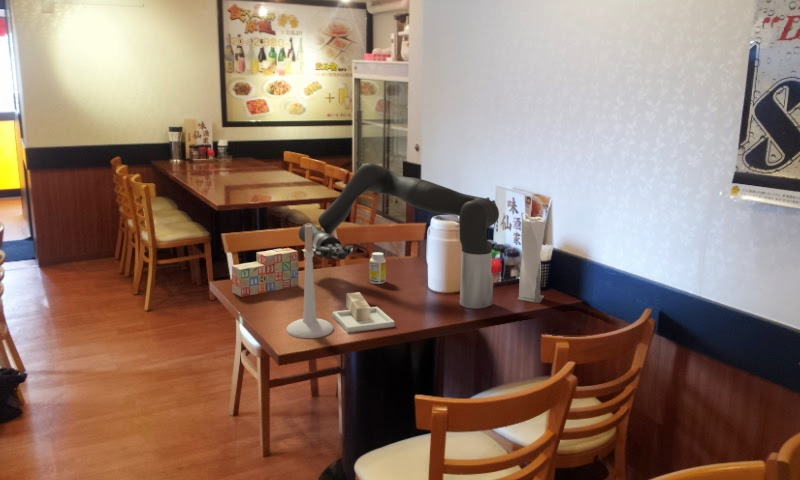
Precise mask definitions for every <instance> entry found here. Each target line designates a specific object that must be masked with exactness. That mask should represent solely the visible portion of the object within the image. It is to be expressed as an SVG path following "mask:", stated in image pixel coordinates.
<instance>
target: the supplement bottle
mask: <svg viewBox="0 0 800 480" xmlns="http://www.w3.org/2000/svg"><path fill="white" fill-rule="evenodd" d="M386 261H387V260H386V258H385V257H384V253H383V252H378V251H377V252H372V253H371V258H370V259H369V282H370V283H371V284H374V285H380V284H381V285H383V284H384V283H386V278H387V277H386V276H387V273H386V272H387V271H386V270H387V269H386V268H387V265H386V264H387V262H386Z"/></svg>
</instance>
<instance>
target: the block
mask: <svg viewBox="0 0 800 480" xmlns="http://www.w3.org/2000/svg"><path fill="white" fill-rule="evenodd" d="M345 299H346V300H345V307H346V308H347V310H349V311H350V312H351V314H352V315H353V317H354V318H355V320H356V321H364V320H370V307H371V306H370V305H369V303H368V302H367V301H366V299H365V297H364V296H363V294H361V292H360V291H357V292H347V293H346V298H345Z"/></svg>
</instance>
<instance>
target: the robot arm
mask: <svg viewBox="0 0 800 480" xmlns="http://www.w3.org/2000/svg"><path fill="white" fill-rule="evenodd" d="M366 191H367V192H372V193H375V194H376V193H377V194H383V195H388V196H392V197H396V198H398V199H400V201H401V200H402V201H403V202H404V203H406V204H408V205H409V206H411V207H412V206H413V207H414V208H417V209H420V210H423V211H425V212H430V213H435V214H444V215H445V214H446V215H454V216H458V217H459V224H458V225H459V228H458V229H459V242H460V244H461V260H460V261H461V262H460V263H461V265H460V290H459V291H460V292H459V305H460V306H462V307H463V308H468V309H474V310H475V309H476V310H477V309H478V310H479V309H486V308H488V307H490V306H492V305H493V294H494V293H493V291H494V290H493V289H494V276H493V275H492V258H493V257H492V256H493V255H492V254H493V252H492V251H493V244H492V242H491V241H490V240H488V239H487V228H490V227H492V226H493V225H495V223H497V221H498V220H499V217H500V211H499V208H498V206H497V205H496V203H495V202H493V201H492V200H491V199H489V198H485V197H480V196H475V195H471V194H466V193H462V192H459V191H456V190H454V189H451V188H448V187H446V186H443V185H440V184H437V183H434V182H431V181H429V180H425V179H422V178H416V177H409V176H405V175H401V174H399V173H396V172H394V171H393V170H390V169H388V168H386V167H385V166H382V165H379V164H376V163H373V162H366V163H363V164H362V165H361V166H360V167H358V168H357V170H356V171H355V172H354V174H353V175H352V177H351V178H350V180H349V181H348V182H347V184H346V185H345V187H344V188H343V190H342V191H341V193H340V194H339V195H338V196H337V197H336V199H335V200H334V201H333V202H332V203H331V204H330V205H329V206H328V207H327V208H326V209H325V210H324V211H323V212H322V213H321V214H320V215H319V216H318V220H317V221H318V224H319V226H320V227H321V228H322V229H323V230H322V229H321V228H320V227H318V226H317V225H316V224H315V225H314V223H312V222H307V223H304V224H303V225H302V226H301V227H300V228H299V231H298V238H299V239H300V241H302V242H303V243H305V226H306V225H311V226H312V246H313V249H315V257H316V258H317V257H320V258H323V259H326V260H334V259H339V261H341V260H346V259H347V257H349V256H350V255H351V254H353V253H354V252H353V251H354V250H353V249H354V246H353V244H349V245H345V244H342V243H341V241H340V240H339V239H338V238H337V237H335V236H333V232H334V231H335V230H336V229H337V228H338V227H339V226H340V225H341V224H342V222H345V220H346V219H347V217H348V216H349V214H350V213H351V210H352V207H353V205H354V203H355V202H356V200H357V199H358V198H359V197H360V196H361V195H362V194H363V193H365V192H366Z"/></svg>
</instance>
